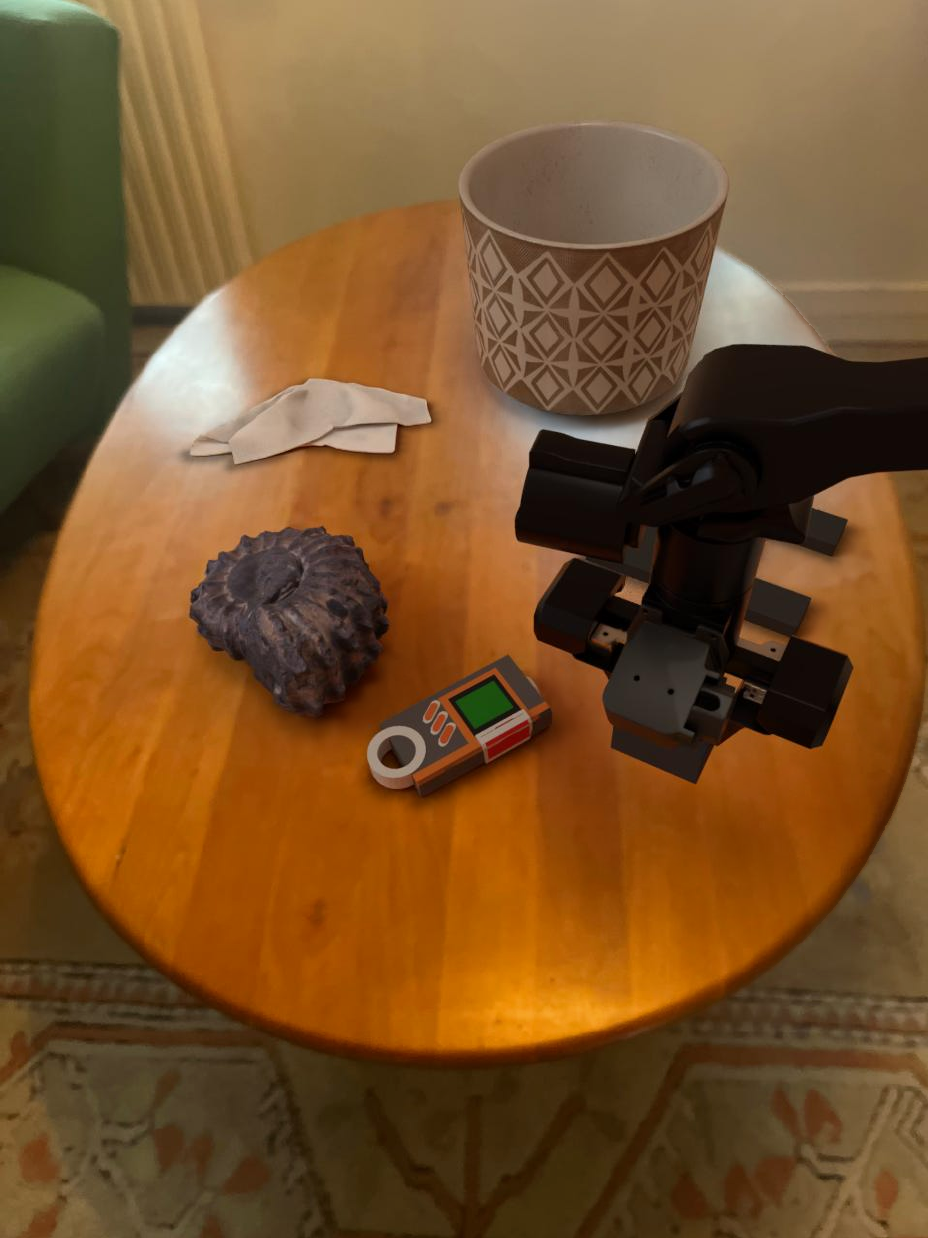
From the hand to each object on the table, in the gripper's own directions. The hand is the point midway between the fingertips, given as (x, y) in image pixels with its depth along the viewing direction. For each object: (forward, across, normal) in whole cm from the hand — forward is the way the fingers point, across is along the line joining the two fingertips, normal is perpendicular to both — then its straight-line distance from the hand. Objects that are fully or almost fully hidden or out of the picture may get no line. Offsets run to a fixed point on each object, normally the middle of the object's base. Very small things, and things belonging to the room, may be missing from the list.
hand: (671, 721), depth 65 cm
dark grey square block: (+1, 0, 0) cm, 1 cm away
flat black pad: (+11, -5, +28) cm, 30 cm away
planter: (+11, -29, +48) cm, 57 cm away
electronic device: (+11, -16, -2) cm, 20 cm away
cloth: (+11, -51, +26) cm, 58 cm away
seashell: (+11, -33, -1) cm, 35 cm away
